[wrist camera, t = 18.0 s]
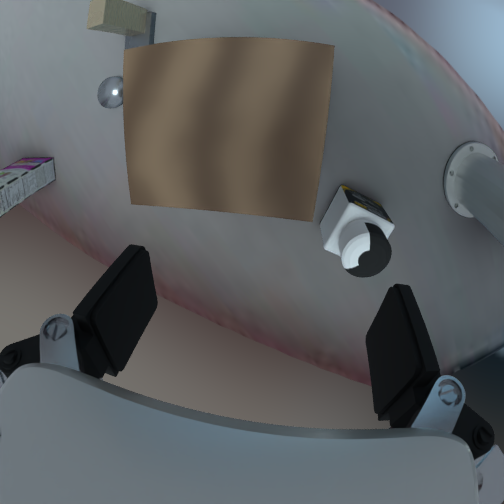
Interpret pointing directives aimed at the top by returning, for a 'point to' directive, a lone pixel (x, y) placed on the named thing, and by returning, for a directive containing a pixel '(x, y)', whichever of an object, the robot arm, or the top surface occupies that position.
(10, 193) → the candy bar box
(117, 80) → the steel token
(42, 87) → the top surface
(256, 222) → the top surface
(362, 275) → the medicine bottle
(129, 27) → the wood and grey l-block
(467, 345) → the top surface
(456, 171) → the robot arm
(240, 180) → the cabinet
